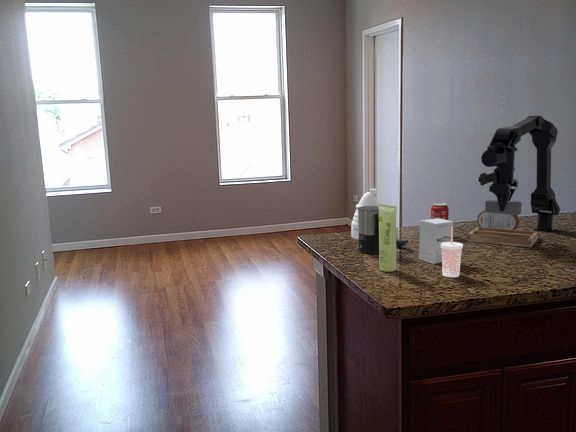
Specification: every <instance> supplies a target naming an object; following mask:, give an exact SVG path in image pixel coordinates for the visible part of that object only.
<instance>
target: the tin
mask: <svg viewBox="0 0 576 432" xmlns="http://www.w3.org/2000/svg"><path fill="white" fill-rule="evenodd" d="M476 221H477V224H478V227H484V228H496V229H508V230H517V229H518V227H519V225H520V218H519V215H510V214H499V213H487V212H485V209H483V210H481V212H479V214H478V216H477V218H476Z"/></svg>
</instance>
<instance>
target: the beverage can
mask: <svg viewBox="0 0 576 432" xmlns="http://www.w3.org/2000/svg"><path fill="white" fill-rule="evenodd" d="M449 210H450V209H449V206H448V203H446V202H444V203H443V202H435V203H432V205H431V207H430V219H437V218H438V219H444V220H449V213H450V212H449Z"/></svg>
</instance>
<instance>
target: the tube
mask: <svg viewBox="0 0 576 432" xmlns="http://www.w3.org/2000/svg"><path fill="white" fill-rule="evenodd" d="M396 241H397V205H389V204H384V203H383V204H382V203H379V253H378V255H379V256H378V257H379V259H378V260H379V261H378V262H379V270H380V271H381V272H386V273H387V272H388V273H389V272H394V271H396V270H397V246H396Z"/></svg>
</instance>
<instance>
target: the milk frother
mask: <svg viewBox="0 0 576 432" xmlns="http://www.w3.org/2000/svg"><path fill="white" fill-rule="evenodd" d="M356 209H358V232H359V239H358V246H357V247H358V248H357V251H358V252H360V253H362V254H379V206H361V207H358V208H356ZM406 244H409V240H401V239H398V240H397V239H396V249H401V248H402V247H403V246H405V245H406Z"/></svg>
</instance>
